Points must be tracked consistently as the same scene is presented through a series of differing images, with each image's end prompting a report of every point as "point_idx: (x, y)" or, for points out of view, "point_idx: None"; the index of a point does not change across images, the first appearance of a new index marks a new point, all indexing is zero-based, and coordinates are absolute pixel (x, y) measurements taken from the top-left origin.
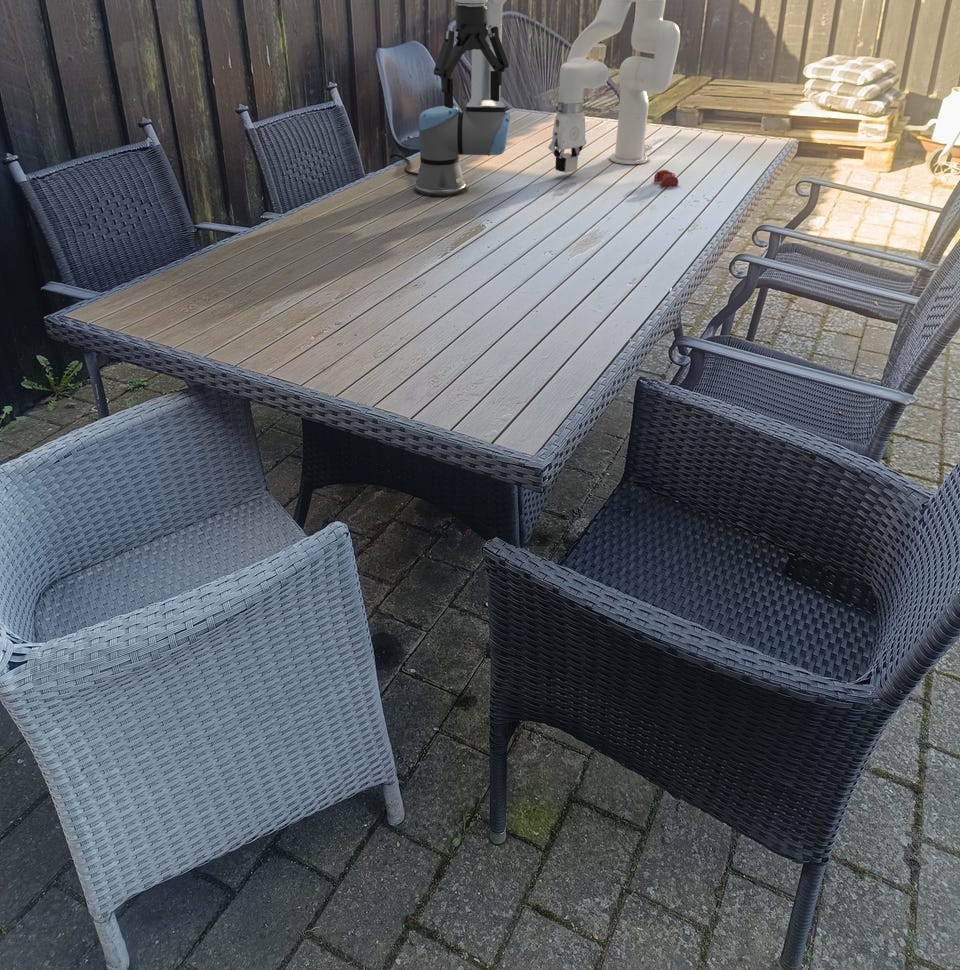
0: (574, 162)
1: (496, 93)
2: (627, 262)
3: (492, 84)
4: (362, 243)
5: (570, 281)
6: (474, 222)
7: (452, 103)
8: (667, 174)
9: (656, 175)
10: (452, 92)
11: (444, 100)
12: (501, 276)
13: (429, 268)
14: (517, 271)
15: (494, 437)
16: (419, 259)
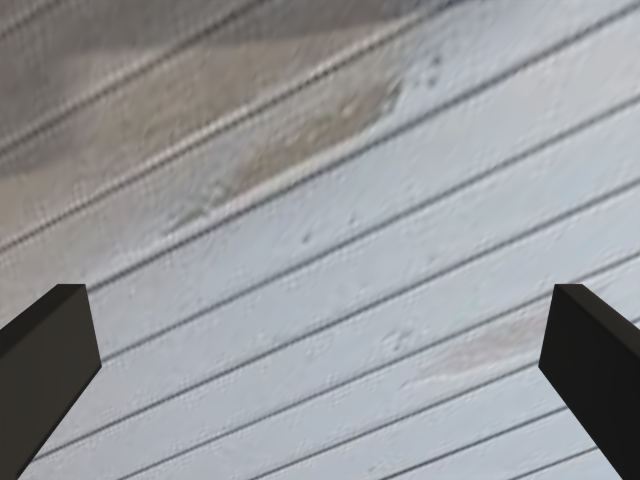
0: None
1: (570, 408)
2: (484, 448)
3: (632, 401)
4: (16, 11)
5: (330, 456)
6: (393, 49)
7: (78, 389)
8: None
9: None
10: (24, 462)
11: (28, 310)
12: (233, 379)
13: (118, 270)
14: (275, 377)
15: None
16: (119, 211)
